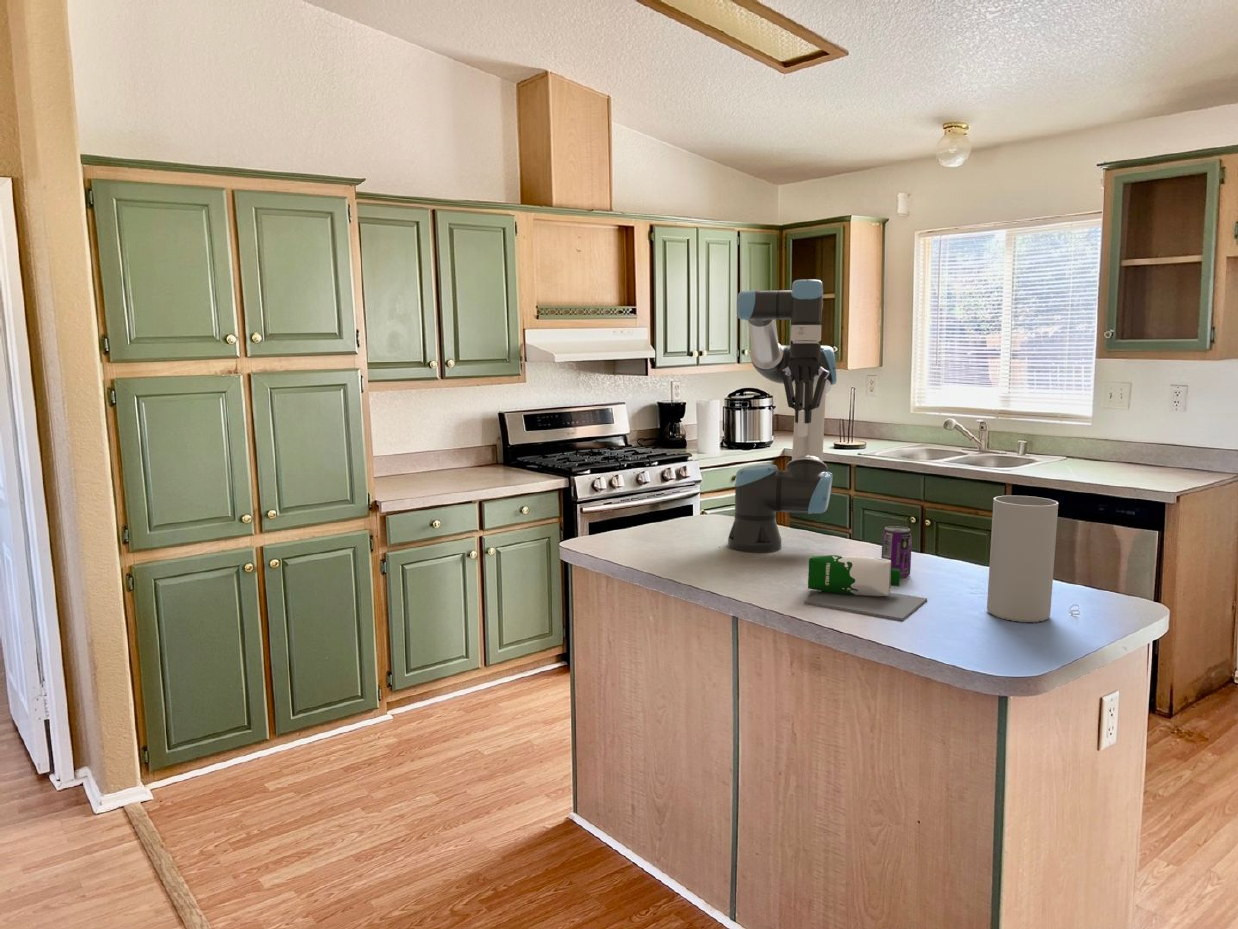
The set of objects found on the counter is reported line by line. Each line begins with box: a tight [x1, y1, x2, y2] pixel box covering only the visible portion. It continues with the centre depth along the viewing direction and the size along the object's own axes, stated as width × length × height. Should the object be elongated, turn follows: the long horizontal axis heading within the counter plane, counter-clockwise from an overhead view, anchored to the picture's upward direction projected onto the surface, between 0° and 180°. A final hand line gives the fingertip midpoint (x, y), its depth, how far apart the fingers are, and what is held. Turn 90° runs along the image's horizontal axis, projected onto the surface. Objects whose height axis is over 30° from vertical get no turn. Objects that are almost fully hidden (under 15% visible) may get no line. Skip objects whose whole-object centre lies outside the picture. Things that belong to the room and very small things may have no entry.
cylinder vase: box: [986, 495, 1059, 623], centre depth 191 cm, size 12×12×25 cm
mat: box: [803, 591, 928, 622], centre depth 201 cm, size 22×18×1 cm
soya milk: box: [807, 554, 901, 597], centre depth 206 cm, size 9×9×20 cm
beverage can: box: [880, 525, 913, 579], centre depth 224 cm, size 7×7×12 cm
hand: (802, 436), depth 227 cm, fingers closed
